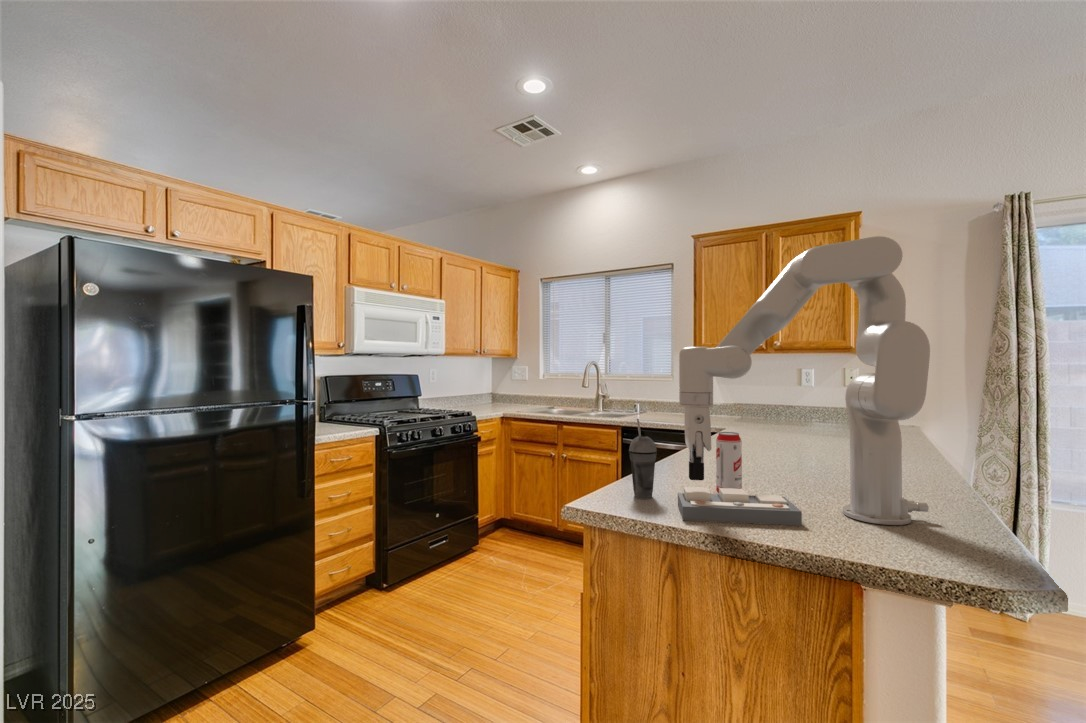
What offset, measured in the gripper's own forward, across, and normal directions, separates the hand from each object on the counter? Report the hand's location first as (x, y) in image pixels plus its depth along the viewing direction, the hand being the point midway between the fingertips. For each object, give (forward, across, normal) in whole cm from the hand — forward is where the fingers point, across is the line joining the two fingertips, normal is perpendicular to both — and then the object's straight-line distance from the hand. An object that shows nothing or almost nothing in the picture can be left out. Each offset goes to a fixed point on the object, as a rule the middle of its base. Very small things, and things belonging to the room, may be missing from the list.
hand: (696, 479), depth 116 cm
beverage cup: (+8, +11, +12) cm, 18 cm away
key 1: (+6, 0, 0) cm, 6 cm away
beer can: (+7, +16, -10) cm, 20 cm away
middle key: (+5, 0, -8) cm, 10 cm away
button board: (+7, -2, -8) cm, 11 cm away
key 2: (+7, 0, -16) cm, 17 cm away
